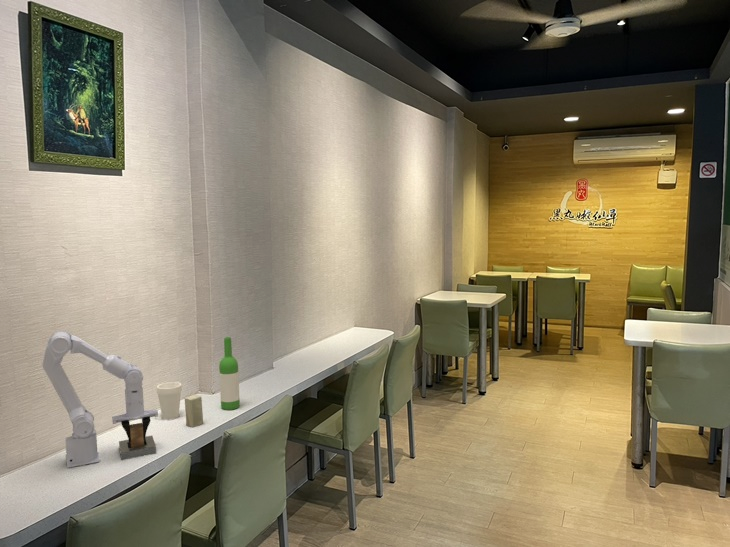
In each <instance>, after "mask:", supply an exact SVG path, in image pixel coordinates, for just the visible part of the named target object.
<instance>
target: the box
mask: <svg viewBox="0 0 730 547" xmlns="http://www.w3.org/2000/svg"><path fill="white" fill-rule="evenodd" d="M184 408H185V409H184V410H185V422H186V423H185V424H186V426H188V427H190V428H194V427H198V426H200V425H202V424H204V416H203V414H204V413H203V398H202V396H201V395H197V394H192V395H190V396H187V397H184Z"/></svg>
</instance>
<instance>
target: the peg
mask: <svg viewBox="0 0 730 547" xmlns="http://www.w3.org/2000/svg"><path fill="white" fill-rule="evenodd" d="M130 436H131V448H134V447H140V446H144V437H143V425H142V422H139V423H132V424H130Z"/></svg>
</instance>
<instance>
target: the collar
mask: <svg viewBox="0 0 730 547" xmlns="http://www.w3.org/2000/svg"><path fill="white" fill-rule="evenodd" d="M118 448H119V453H120V460H121V461H123V460H128V459H132V458H133V459H134V458H140V457H144V455H145V456H150V455H154V454H157V446H156V443H155V439H154V437H153V435H146V437H145V439H144V446H140V447H134V448H131V442H129V440H128V439H125V440H119V441H118ZM149 454H150V455H149Z"/></svg>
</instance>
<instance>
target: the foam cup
mask: <svg viewBox="0 0 730 547" xmlns="http://www.w3.org/2000/svg"><path fill="white" fill-rule="evenodd" d="M156 394H157V397H158V402H159V406H160V411H161V413H160V414H161V417H162V419H163V420H172V419H173V420H174V419H177V418H179V417H180V407H181V395H182V383H181V382H179V381H169V382H168V381H167V382H163V383H160V384H158V385H157V386H156Z"/></svg>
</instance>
